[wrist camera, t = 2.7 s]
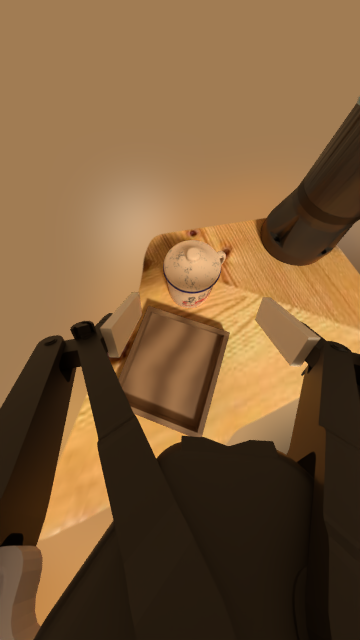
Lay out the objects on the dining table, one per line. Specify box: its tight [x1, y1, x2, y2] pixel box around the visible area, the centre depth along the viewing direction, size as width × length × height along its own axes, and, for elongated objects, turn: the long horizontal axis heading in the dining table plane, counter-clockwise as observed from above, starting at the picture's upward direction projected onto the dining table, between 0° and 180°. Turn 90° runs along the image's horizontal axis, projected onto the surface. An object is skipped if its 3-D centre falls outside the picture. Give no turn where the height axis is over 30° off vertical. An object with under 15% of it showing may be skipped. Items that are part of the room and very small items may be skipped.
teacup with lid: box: [163, 240, 226, 308], centre depth 25 cm, size 12×9×12 cm
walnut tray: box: [118, 306, 230, 437], centre depth 26 cm, size 16×18×2 cm
